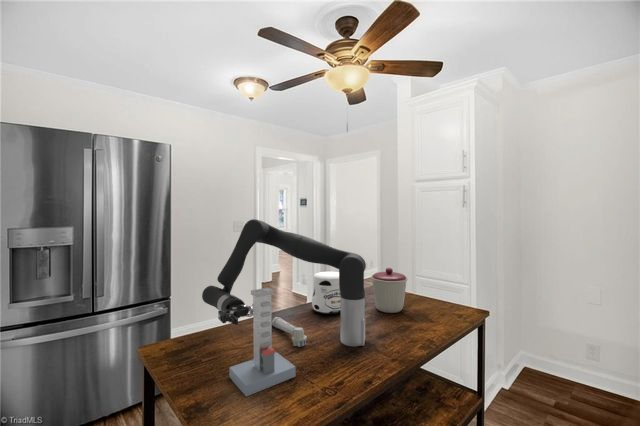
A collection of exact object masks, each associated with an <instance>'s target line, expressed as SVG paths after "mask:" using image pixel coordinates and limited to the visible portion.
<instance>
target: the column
mask: <svg viewBox="0 0 640 426" xmlns="http://www.w3.org/2000/svg"><path fill="white" fill-rule="evenodd" d="M250 295H251V296H252V297H253V300H252V301H253V303H252V304H253V316H252V317H253V319H252V321H253V323H252V325H253V330H252V331H253V340H252V341H253V359H254V367H255V368H256V369H257V370H258V371H259V372H260V371H263V354H262V351H264V350H267V349H270V348H273V347H272V345H273V344H272V342H273V341H272V334H273V333H272V326H273V325H272V319H273V316H272V295H275V290H274V289H272V288H270V287H262V288H258V289H253V290H252V289H251V290H250Z"/></svg>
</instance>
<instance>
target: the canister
mask: <svg viewBox="0 0 640 426" xmlns="http://www.w3.org/2000/svg"><path fill="white" fill-rule="evenodd" d="M393 271H394V270H393V268H391V267H387V268H385V271H380V272H379V271H378V272H375V273H374V274H371V276H370V279H372V280H371V281H372V290H373V291H372V292H373V299H374V305H375V307H376V309H377V311H379V312H383V313H387V314H394V313H396V314H397V313H400V312H401V311H402V309H403V308H404V304H405V296H406V288H407V282H408V280H409V278H408V276H406V275H404V274H403V273H400V272H396V271H394V272H393Z"/></svg>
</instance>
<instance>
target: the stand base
mask: <svg viewBox="0 0 640 426" xmlns="http://www.w3.org/2000/svg"><path fill="white" fill-rule="evenodd" d="M262 354H263V371H260V372H259V371H258V370H257V369H256V368H255V367H254V358H253V359H250V360H247V361H244V362H241V363H238V364H235V365H232V366H229V372H228V373H229V379H231V380H232V382H233V384H235V385H236V387H237V388H238V389H239V390H240V391H241V392H242V393H243V395H244V396H245V397H249V396H251V395H254V394H255V393H259V392H261V391H263V390H266V389H268V388H271V387H273V386H275V385H278V384H281V383H284V382H286V381H288V380H290V379H293V378H295V377H296V374H297V373H296V371H297V368H296V366H295V365H294V364H293V363H291V361H289V360H288V359H286V358H285V357H284V356H283V355H281V354H280V353H278V352H277V351H276V350H275V349H274V348H273V347H272V348H270V349H267V350H264V351H262Z"/></svg>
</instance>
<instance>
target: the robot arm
mask: <svg viewBox="0 0 640 426" xmlns="http://www.w3.org/2000/svg"><path fill="white" fill-rule="evenodd" d="M256 243H259V244H264V245H269V246H273V247H275V248H278V249H279V250H281V251H282V252H284V253H286V254H288V255H289V256H291V257H293V258H296V259H299V260H301V261H304V262H306V263H311V264H319V265H326V266H329V267H333V268H335V269H337V270H339V271H338V272H339V288H340V313H339V314H340V319H339V320H340V323H339V324H340V326H339V327H340V333H339V334H340V336H339V337H340V343H341V344H342V345H344V346H347V347H359V346H365V341H366V314H365V313H366V306H365V304H366V303H365V302H366V299H365V298H366V293H365V292H366V290H365V270H366V268H367V267H366V266H367V265H366V261H365V259H364V258H363V257H362V256H361V255H360V254H357V253H354V252H350V251H345V250H342V249H337V248H335V247H332V246H330V245H328V244H326V243H323V242H321V241H318V240H315V239H313V238H312V237H311V238H310V237H308V236H306V235H302V234H298V233H294V232H291V231H290V232H289V231H284V230H282V229H279V228H278V227H275V226H272V225H270V224H269V223H267V222H265V221H262V220H261V219H260V220H259V219H255V218H253V219H249V220H248V221H246V223H245V224H244V226H243V228H242V230H241V232H240V234H239V236H238V240H237V242H236V243H235V246H234V248H233V249H232V252H231V254H230V256H229V258H228V260H227V261H226V263H225V265H224V266H223V268H222V269H221V271H220V272H219V274H218V276H217V279H216V281H217V282H218V283H219V284H220V285H222V286H223V288H221V287H219V286H216V285H207V286H206V287H205V288H204V289H203V291H202V294H201V298H202V300H203V301H202V302H204V304H206V305H209V306H212V307H214V308H216V309H217V310H218V312H217V313H218V314H217V316H218V317H217V318H218V320H219V321H220V322H221V323H222V324H226V323H227V322H228V324H229V323H230V324H232V325H235V326H238V325H239V319H240V318H244V317H246V318H251V317H253V303H252V305H246V303H245V302H244V301H243V299H240V298H239V297H238V296H236V295H234V294H231V291H232V289H233V287H234V284H235V283H236V280H237V279H238V277H239V276H240V274H241V273H242V271H243V268H244V266H245V263H246V259H247V256H248V254H249V252H250V251H251V249H252V247H253V246H254V245H255V244H256Z"/></svg>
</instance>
